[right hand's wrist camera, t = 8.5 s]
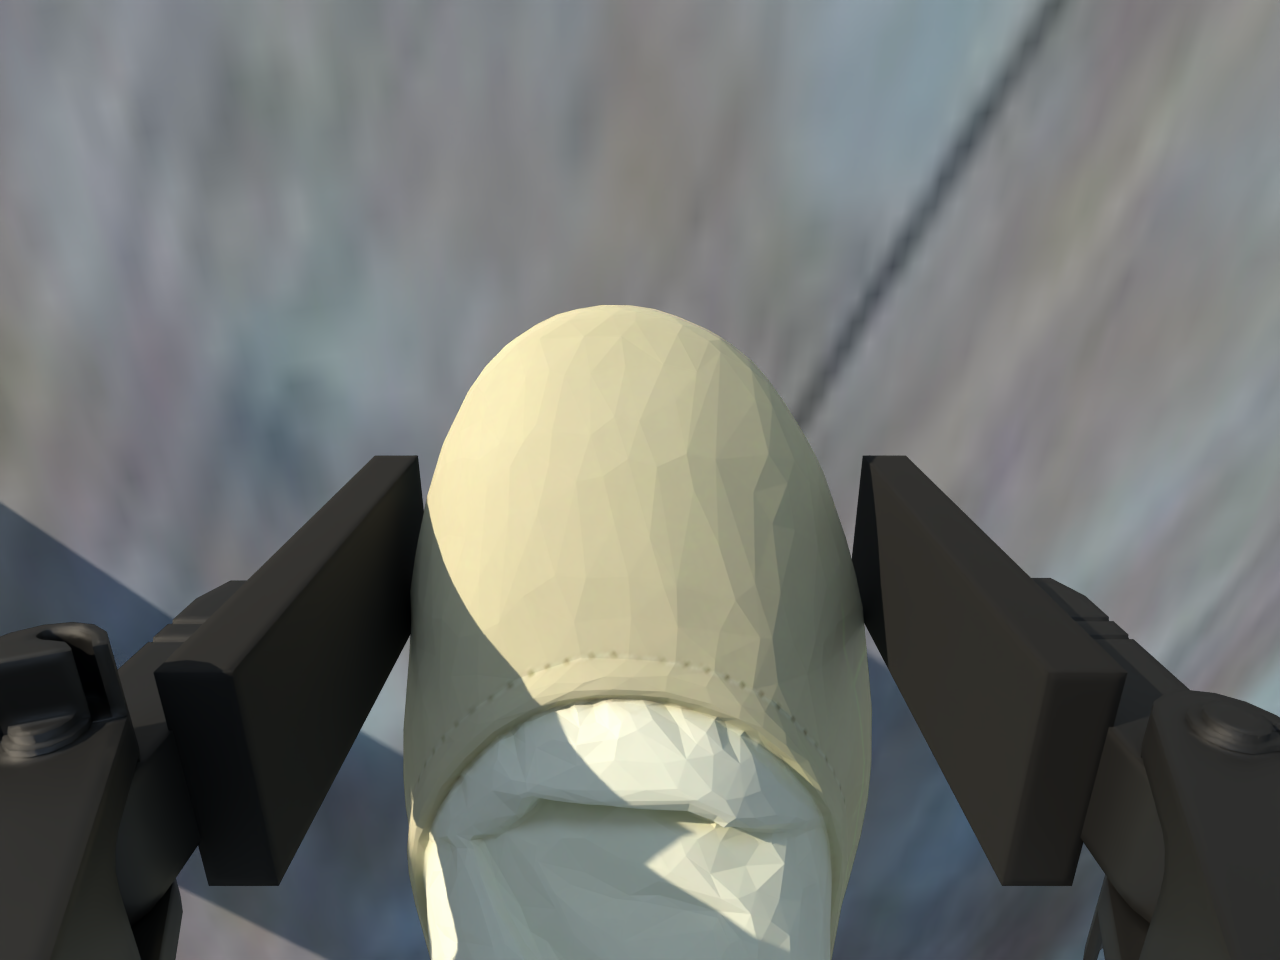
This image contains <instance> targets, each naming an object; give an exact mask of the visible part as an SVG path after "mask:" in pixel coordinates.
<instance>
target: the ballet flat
mask: <svg viewBox="0 0 1280 960" xmlns="http://www.w3.org/2000/svg"><path fill="white" fill-rule="evenodd" d="M410 595H411V635H410V653H409V666H408V679H407V692H406V705H405V718H404V765H403V777H404V790H405V803H406V811H407V817H408V823H409V834H408V844H407V856H408V868H409V876H410V881H411V886H412V891H413V895H414V900H415V905H416V908H417V912H418V916H419V919H420V923H421V926H422V930H423V934H424V937H425V941H426V944H427V948H428V952H429V955H430V959H431V960H831V959H832V953H833V948H834V943H835V937H836V932H837V927H838V922H839V916H840V911H841V906H842V902H843V899H844V895H845V892H846V888H847V885H848V882H849V878H850V874H851V870H852V866H853V863H854V859H855V855H856V851H857V847H858V844H859V840H860V836H861V831H862V826H863V821H864V815H865V810H866V805H867V800H868V791H869V781H870V771H871V732H872V707H871V695H870V683H869V671H868V661H867V650H866V639H865V628H864V617H863V607H862V602H861V597H860V593H859V588H858V583H857V578H856V573H855V570H854V566H853V563H852V559H851V555H850V552H849V548H848V544H847V541H846V537H845V534H844V531H843V528H842V526H841V523H840V520H839V517H838V514H837V511H836V508H835V505H834V502H833V499H832V496H831V493H830V490H829V488H828V485H827V482H826V479H825V476H824V473H823V471H822V469H821V467H820V465H819V462H818V460H817V458H816V456H815V454H814V452H813V450H812V448H811V446H810V445H809V443H808V441H807V439H806V437H805V435H804V434H803V432H802V430H801V429H800V427H799V426H798V424H797V422H796V421H795V419H794V417H793V416H792V414H791V413H790V411H789V409H788V408H787V406H786V404H785V403H784V402H783V400H782V399H781V397H780V396H779V394H778V393H777V392H776V390H775V389H774V387H773V386H772V384H771V383H770V382H769V380H768V379H767V378H766V377H765V376H764V374H763V373H762V372H761V371H760V370H759V369H758V367H757V366H756V365H755V364H754V363H753V362H752V361H751V360H750V359H749V358H747V357H746V356H745V355H744V354H743V353H741V352H740V351H739V350H738V349H736V348H735V347H734V346H733V345H732V344H730V343H729V342H727V341H726V340H724V339H723V338H721V337H720V336H718V335H716V334H714V333H713V332H711V331H709V330H707V329H705V328H703V327H701V326H698V325H696V324H694V323H691V322H689V321H687V320H684V319H682V318H680V317H677V316H674V315H671V314H668V313H665V312H662V311H659V310H656V309H650V308H644V307H638V306H627V305H600V306H594V307H588V308H582V309H577V310H573V311H569V312H565V313H561V314H558V315H555V316H553V317H551V318H549V319H547V320H545V321H543V322H541V323H539V324H537V325H535V326H534V327H532V328H531V329H529V330H528V331H526V332H525V333H523V334H522V335H520V336H519V337H517V338H515V339H514V340H513V341H511V342H510V343H509V344H507V345H506V346H505V347H504V348H503V349H502V350H501V351H500V352H499V353H498V354H497V355H496V356H495V357H494V358H493V359H492V361H491V362H490V363H489V364H488V365H487V366H486V367H485V368H484V370H483V371H482V373H481V374H480V375H479V377H478V378H477V380H476V381H475V383H474V384H473V385H472V387H471V388H470V390H469V391H468V393H467V395H466V397H465V400H464V402H463V404H462V406H461V408H460V410H459V412H458V414H457V416H456V418H455V420H454V422H453V424H452V426H451V429H450V431H449V433H448V435H447V437H446V439H445V441H444V444H443V446H442V449H441V453H440V456H439V459H438V463H437V466H436V469H435V472H434V476H433V479H432V482H431V486H430V489H429V492H428V496H427V500H426V504H425V509H424V514H423V519H422V524H421V529H420V534H419V539H418V544H417V549H416V555H415V562H414V569H413V576H412V583H411V590H410Z"/></svg>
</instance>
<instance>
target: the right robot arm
mask: <svg viewBox="0 0 1280 960" xmlns="http://www.w3.org/2000/svg"><path fill="white" fill-rule="evenodd" d="M423 514H424V509H423V499H422V490H421V481H420V471H419V462H418V456H374V457H373V458H372V459H371V460H370V461H369V462H368V463H367V464H366V465H365V466H364V467H363V468H362V469H361V470H360V471H359V472H358V473H357V474H356V475H355V476H354V477H353V478H352V479H351V480H350V481H349V482H348V483H347V484H346V485H345V486H344V487H342V488H341V489H340V490H339V491H338V492H337V493H336V494H335V495H334V496H333V497H332V498H331V499H330V500H329V501H328V502H327V503H326V504H325V505H324V506H323V507H322V508H321V509H320V510H319V511H318V512H317V513H316V514H315V515H314V516H313V517H312V518H311V519H310V520H309V521H308V522H307V523H306V524H305V525H304V526H303V527H302V528H301V529H300V530H298V531H297V532H296V533H295V534H294V535H293V536H292V537H291V538H290V539H289V540H288V541H287V542H286V543H285V544H284V545H283V546H282V547H281V548H280V549H279V550H278V551H277V552H276V553H275V554H274V555H273V556H272V557H271V558H270V559H269V560H268V561H267V562H266V563H265V564H264V565H263V566H262V567H261V568H260V569H259V570H258V571H257V572H256V573H255V574H253V575H252V576H251V577H250V578H249V579H248V580H247V581H229V582H227V583H225V584H223V585H221V586H219V587H218V588H216V589H214V590H212V591H210V592H208V593H206V594H204V595H202V596H200V597H198V598H196V599H195V600H194V601H193V602H192V603H191V604H190V605H189V606H188V607H186V608H185V609H184V610H183V611H182V612H181V613H180V614H179V615H178V616H176V617H175V618H174V619H173V623H172V624H168V625H167V626H165V627H164V628H163V629H162V630H161V631H160V632H159V633H158V634H157V635H155V636H154V637H153V642H148V643H147V644H146V645H144V646H143V647H142V648H141V649H140V650H139V651H138V652H137V653H136V654H135V655H133V656H132V657H131V658H130V659H129V660H128V661H127V662H126V663H125V664H123V665H122V666H121V667H120V668H119V669H118V670H117V667H116V663H115V660H114V656H113V652H112V649H111V645H110V642H109V638H108V634H107V632H106V631H104V630H103V629H101V628H99V627H98V626H96V625H94V624H85V623H76V622H68V623H58V624H47V625H41V626H37V627H33V628H28V629H24V630H20V631H16V632H12V633H9V634H6V635H4V636H1V637H0V960H175V959H176V952H177V945H178V939H179V932H180V926H181V919H182V913H183V910H182V903H181V896H180V892H179V888H178V885H177V881H176V877H177V875H178V874H179V872H180V871H181V869H182V868H183V866H184V865H185V863H186V862H187V861H188V859H189V858H190V856H191V855H192V853H193V852H194V850H195V849H196V847H197V846H199V850H200V854H201V857H202V861H203V865H204V869H205V873H206V877H207V880H208V884H209V886H279V884H280V882H281V880H282V878H283V876H284V874H285V873H286V871H287V869H288V867H289V865H290V863H291V861H292V859H293V857H294V855H295V853H296V852H297V850H298V848H299V846H300V844H301V842H302V840H303V838H304V836H305V834H306V832H307V831H308V829H309V827H310V825H311V823H312V821H313V819H314V817H315V815H316V813H317V812H318V810H319V808H320V806H321V804H322V802H323V800H324V798H325V796H326V794H327V792H328V791H329V789H330V787H331V785H332V783H333V781H334V779H335V777H336V775H337V773H338V771H339V770H340V768H341V766H342V764H343V762H344V760H345V758H346V756H347V754H348V752H349V750H350V749H351V747H352V745H353V743H354V741H355V739H356V737H357V735H358V733H359V731H360V729H361V728H362V726H363V724H364V722H365V720H366V718H367V716H368V714H369V712H370V710H371V709H372V707H373V705H374V703H375V701H376V699H377V697H378V695H379V693H380V691H381V689H382V688H383V686H384V684H385V682H386V680H387V678H388V676H389V674H390V672H391V670H392V668H393V667H394V665H395V663H396V661H397V659H398V657H399V655H400V653H401V651H402V649H403V647H404V646H405V644H406V642H407V640H408V638H409V636H410V634H411V595H410V590H411V583H412V576H413V569H414V562H415V555H416V549H417V544H418V539H419V534H420V529H421V524H422V519H423ZM852 563H853V566H854V570H855V573H856V578H857V583H858V588H859V593H860V597H861V602H862V607H863V617H864V623H865V625H866V627H867V629H868V631H869V633H870V635H871V637H872V639H873V640H874V642H875V644H876V646H877V648H878V650H879V652H880V654H881V656H882V658H883V660H884V661H885V663H886V665H887V667H888V669H889V671H890V673H891V675H892V677H893V679H894V681H895V682H896V684H897V686H898V688H899V690H900V692H901V694H902V696H903V698H904V700H905V702H906V703H907V705H908V707H909V709H910V711H911V713H912V715H913V717H914V719H915V721H916V722H917V724H918V726H919V728H920V730H921V732H922V734H923V736H924V738H925V740H926V742H927V743H928V745H929V747H930V749H931V751H932V753H933V755H934V757H935V759H936V761H937V763H938V764H939V766H940V768H941V770H942V772H943V774H944V776H945V778H946V780H947V782H948V784H949V785H950V787H951V789H952V791H953V793H954V795H955V797H956V799H957V801H958V803H959V805H960V806H961V808H962V810H963V812H964V814H965V816H966V818H967V820H968V822H969V824H970V825H971V827H972V829H973V831H974V833H975V835H976V837H977V839H978V841H979V843H980V845H981V846H982V848H983V850H984V852H985V854H986V856H987V858H988V860H989V862H990V864H991V866H992V867H993V869H994V871H995V873H996V875H997V877H998V879H999V881H1000V883H1001V885H1002V886H1072V883H1073V879H1074V876H1075V872H1076V868H1077V864H1078V860H1079V856H1080V853H1081V849H1082V845H1083V842H1084V844H1085V845H1086V847H1087V848H1088V849H1089V851H1090V852H1091V854H1092V855H1093V857H1094V858H1095V860H1096V861H1097V863H1098V864H1099V866H1100V867H1101V868H1102V870H1103V871H1104V873H1105V878H1104V881H1103V885H1102V888H1101V892H1100V895H1099V899H1098V903H1097V906H1096V910H1095V913H1094V917H1093V921H1092V924H1091V928H1090V931H1089V935H1088V938H1087V942H1086V946H1085V951H1084V958H1083V960H1097V958H1098V954H1099V951H1100V950H1101V949H1102V948H1103V950H1104V956H1105V960H1280V717H1278V716H1277V715H1274V714H1272V713H1270V712H1268V711H1265V710H1263V709H1261V708H1259V707H1256V706H1254V705H1252V704H1250V703H1247V702H1245V701H1241V700H1238V699H1234V698H1231V697H1227V696H1223V695H1220V694H1216V693H1209V692H1200V691H1191V690H1189V689H1188V688H1187V687H1186V686H1185V685H1184V684H1183V683H1182V682H1180V681H1179V680H1178V679H1177V678H1176V677H1175V676H1174V675H1173V674H1172V673H1170V672H1169V671H1168V670H1167V669H1166V668H1165V667H1164V666H1163V665H1161V664H1160V663H1159V662H1158V661H1157V660H1156V659H1155V658H1154V657H1153V656H1151V655H1150V654H1149V653H1148V652H1147V651H1146V650H1145V649H1144V648H1143V647H1141V646H1140V645H1139V644H1138V643H1137V642H1136V641H1135V640H1134V639H1129V638H1128V634H1127V633H1126V632H1125V631H1124V630H1123V629H1121V628H1120V627H1119V626H1118V625H1117V624H1116V623H1115V622H1114V621H1109V617H1108V616H1107V615H1106V614H1105V613H1104V612H1102V611H1101V610H1100V609H1099V608H1098V607H1097V606H1096V605H1095V604H1094V603H1092V602H1091V601H1090V600H1089V599H1088V598H1087V597H1086V596H1084V595H1082V594H1080V593H1078V592H1077V591H1075V590H1073V589H1071V588H1069V587H1067V586H1065V585H1063V584H1061V583H1059V582H1057V581H1055V580H1053V579H1051V578H1030V577H1029V576H1028V575H1027V574H1026V573H1025V572H1024V571H1023V570H1022V569H1021V568H1020V567H1019V566H1018V565H1017V564H1016V563H1015V562H1014V561H1013V560H1012V559H1011V558H1010V557H1009V556H1008V555H1007V554H1006V553H1005V552H1004V551H1003V550H1002V549H1001V548H1000V547H999V546H998V545H997V544H996V543H995V542H993V541H992V540H991V539H990V538H989V537H988V536H987V535H986V534H985V533H984V532H983V531H982V530H981V529H980V528H979V527H978V526H977V525H976V524H975V523H974V522H973V521H972V520H971V519H970V518H969V517H968V516H967V515H966V514H965V513H964V512H963V511H962V510H961V509H960V508H959V507H958V506H957V505H956V504H955V503H954V502H953V501H952V500H951V499H950V498H948V497H947V496H946V495H945V494H944V493H943V492H942V491H941V490H940V489H939V488H938V487H937V486H936V485H935V484H934V483H933V482H932V481H931V480H930V479H929V478H928V477H927V476H926V475H925V474H924V473H923V472H922V471H921V470H920V469H919V468H918V467H917V466H916V465H915V464H914V463H913V462H912V461H911V460H910V459H909V458H908V457H907V456H863V459H862V469H861V478H860V487H859V497H858V506H857V515H856V525H855V534H854V543H853V553H852Z"/></svg>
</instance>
